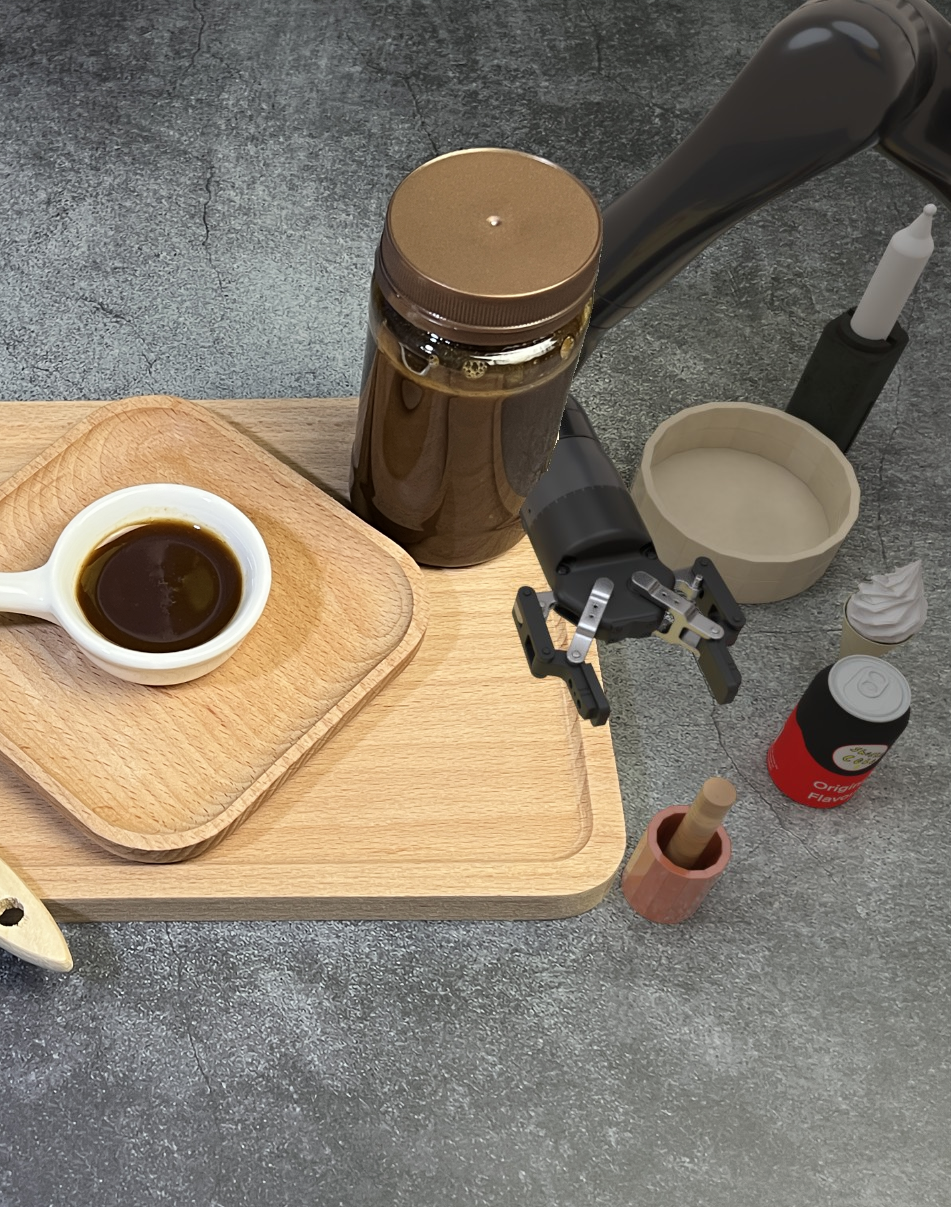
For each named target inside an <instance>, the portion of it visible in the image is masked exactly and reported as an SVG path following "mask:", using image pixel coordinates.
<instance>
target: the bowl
mask: <svg viewBox="0 0 951 1207" xmlns="http://www.w3.org/2000/svg"><path fill="white" fill-rule="evenodd" d="M643 446H644V447H643V449H642V452H641V454H640V457H639V459H638V460H639V461H638V463H637V465H636V468H635V472H634V474H633V477H632V479H631V482H630V486H629V489H628V491H629V493H630V495H631V497H632V499H633V501H634V503H635V505H636V507H637V509H638V511H639V513H640V515H641V517H642V520H643V522H644V524H645V526H646V528H647V530H648V532H649V534H650V536H651V538H652V540H653V543H654V545H655V549H656V552H657V555H658V558H659V559H660V561H661V562H662V563H663V564H664V565H666V566H667V567H668V568H670V569H671V570H676V569H680V568H685V567H689V566H692V565H693V564H694V562H695V560H696V558H698V557H701V556H704V557H707V558H709V559H710V560H711V561H712V562H713V564H714V565H715V567H716V569H717V570H718V572H719V574H720V575H721V577H722V579H723V580H724V582H725V584H726V586H727V587H728V589H729V591H730V592H731V594H732V596H733V597H734V599H735V601H736V602H737V604H745V605H746V604H747V605H749V604H751V605H755V604H756V605H757V604H768V603H774V602H779V601H782V600H785V599H789V598H792V597H794V596H796V595H798V594H801V593H803V592H804V591H806V590H808V589H809V588H810V587H812V586H813V585H815V583H816V582H818V581H819V580H820V579H821V578H822V577H823V576H824V575H825V572H826V571H827V570H828V569H829V566H830V565H831V564H832V561H833V560H834V559H835V557H836V555H837V554H838V552H839V550H840V548H841V547H842V545H843V544H844V542H845V540H846V538H847V537H848V535H849V534H850V531H851V530H852V528H853V526H854V525H855V523H856V521H857V519H858V518H859V512H860V511H859V510H860V502H861V488H860V485H859V481H858V479H857V476H856V473H855V469H854V467H853V465H852V464H851V462H850V461H849V460H848V459H847V458H846V456H845V454H843V453H842V452H841V451H840V450H839V448H838V447H837V446H836V444H835V443H834V442H833V441H831V440H830V439H829V438H827V437H826V436H825V435H823V434H822V433H821V432H820V431H818V430H817V429H816V428H814V427H813V426H812V425H810V424H809V423H807V422H805V421H803V420H801V419H799V418H796V417H794V416H792V415H790V414H788V413H785V411H783V410H781V409H778V408H775V407H770V406H765V405H761V404H756V403H752V402H747V401H711V402H707V403H703V404H698V405H695V406H691V407H686V408H683V409H681V410H680V411H678V412H676V413H675V414H674V415H672V416H671V417H669V418H667V419H666V420H663V421H662V422H661V423H659V424H658V426H657V427H656V429H655V430H654V431H653V432H652V433H651V435H650V436H649V437H648V439H647V441H645V445H643Z"/></svg>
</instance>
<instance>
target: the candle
mask: <svg viewBox="0 0 951 1207" xmlns="http://www.w3.org/2000/svg"><path fill="white" fill-rule="evenodd" d="M922 211H923V212H921V214H920V215H918V216H917V218H916V219H914V220H913V222H912V223H910V224H909V225H908V226H907V227H904V228H902V229H900V230H898V231H896V232H895V233H894V234H893V235H892V237H891V239H890V241H889V243H888V245H887V246H886V249H885V251H884V252H883V255H882V257H881V259H880V261H879V263H878V265H877V266H876V269H875V271H874V273H873V275H872V277H871V279H870V281H869V283H868V286H867V287H866V289H865V291H864V292H863V296H862V297H861V300H860V301H859V303H858V305H855V306H851V307H850V308H848V310H846V311H843V312H842V313H841V314H840V315H838V316H837V317H835V318H833V319H831V320H830V321H828V322H827V323H826V324H825V325H824V328H823V330H822V332H821V334H820V336H819V338H818V341H817V343H816V345H815V346H814V349H813V351H812V353H811V355H810V357H809V360H808V361H807V364H806V366H805V368H804V370H803V372H802V373H801V376H800V378H799V380H798V383H797V385H796V387H795V388H794V390H793V392H792V395H791V397H790V399H789V401H788V403H787V406H786V408H785V410H784V412H785V413H788V414H790V415H792V416H794V417H796V418H799V419H801V420H803V421H805V422H807V423H809V424H810V425H812V426H813V427H814V428H816V429H817V430H818V431H820V432H821V433H822V434H823V435H825V436H826V437H827V438H829V439H830V440H831V441H833V442H834V443H835V444H836V446H837V447H838V448H839V450H840V451H841V452H842V453H843V455H847V454H848V453H849V452H850V450H851V448H852V446H853V444H854V442H855V441H856V439H857V437H858V435H859V433H860V431H861V430H862V428H863V426H864V424H865V422H866V421H867V418H868V417H869V415H870V413H871V412H872V410H873V408H874V406H875V404H876V402H877V401H878V398H879V397H880V395H881V393H882V391H883V390H884V387H885V386H886V384H887V382H888V380H889V379H890V376H891V375H892V373H893V371H894V369H895V367H896V366H897V364H898V362H899V360H900V358H901V356H902V355H903V353H904V351H905V349H906V348H907V345H908V344H909V341H910V336H909V334H908V332H907V331H906V330H905V329H904V328H902V326H901V323H900V322H899V320H898V318H899V316H900V315H901V312H902V311H903V308H904V307H905V305H906V303H907V301H908V300H909V297H910V296H911V293H912V292H913V290H914V288H915V286H916V284H917V283H918V281H919V278H920V277H921V275H922V274H923V271H924V268H925V267H926V265H927V264H928V262H929V260H930V258H931V256H932V254H933V252H934V250H935V244H934V243H935V242H934V239H933V236H932V234H931V233H932V225H933V216H934V215H935V214H937V206H936V205H935V204H934V203H928V204H925V205H924V206H923V210H922Z"/></svg>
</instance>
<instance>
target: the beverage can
mask: <svg viewBox="0 0 951 1207" xmlns="http://www.w3.org/2000/svg"><path fill="white" fill-rule="evenodd" d="M911 702H912V690H911V686H910V684H909V682H908V680H907V679H906V677H905V676H904V674H903V673H902V672H901V671H900V670H899V669H898V668H897V667H896V666H894V665H893V664H891V663H889V662H888V661H886V660H884V659H882V658H880V657H878V658H877V657H873V656H869V655H851V656H847V657H845V658H842V659H841V660H839V661H838V660H837V661H836V662H833V663H831V664H828V665H827V666H825V667H823V668H822V669H820V670H819V671H818V672H817V673H816V674H815V675H814V676H813V678H812V680H811V681H810V683H809V685H808V686H807V688H806V689H805V691H804V692H803V693H802V696H801V697H800V699H799V700H798V702H797V703H796V705H795V706H794V708H793V709H792V711H791V712H790V714H789V716H788V717H787V719H785V720H786V721H785V722H784V723H783V725H782V727H781V728H780V730H779V731H778V733H777V734H776V736H775V737H774V739H773V741H772V742H771V743H770V745H769V747H768V750H767V754H766V766H767V771H768V773H769V776H770V778H771V780H772V782H773V783H774V784H775V785H776V787H777V788H778V790H780V791H781V792H782V793H783V794H784V795H786V796H787V797H788V798H790V799H791V800H793V801H795V802H797V803H799V804H801V805H804V806H807V807H812V808H818V809H828V808H834V807H838V806H840V805H843V804H844V803H846V802H848V801H849V800H850V799H851V798H852V797H853V796H854V795H855V794H856V792H857V791H858V790H859V789H860V788H861V786H862V785H863V784H864V782H865V781H866V780H867V779H868V777H869V776H870V775H871V773H872V772H873V771H874V770H875V768H877V766H878V764H879V763H880V762H881V761H882V759H883V758H884V757H885V755H886V754H887V753H888V752H889V751H890V749H891V748H892V747H893V745H894V744H895V742H896V741H897V740H898V739H899V738H900V737H901V735H902V734H903V733H904V732H905V730H906V729H907V727H908V726H909V722H910V718H911Z"/></svg>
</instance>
